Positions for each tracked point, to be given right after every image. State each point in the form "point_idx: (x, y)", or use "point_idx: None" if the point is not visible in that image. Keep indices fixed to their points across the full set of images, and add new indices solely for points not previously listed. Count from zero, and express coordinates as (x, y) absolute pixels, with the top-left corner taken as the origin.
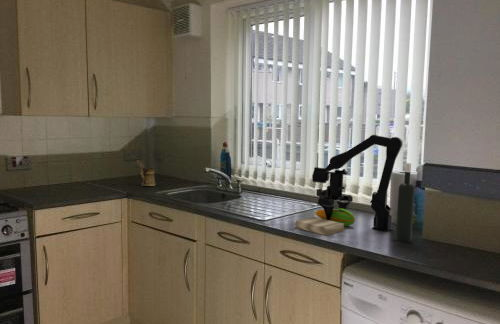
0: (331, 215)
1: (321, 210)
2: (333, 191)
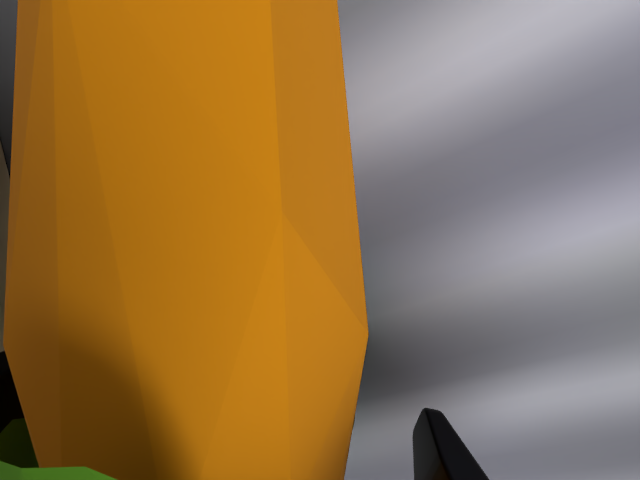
0: (26, 464)
1: (27, 126)
2: None
